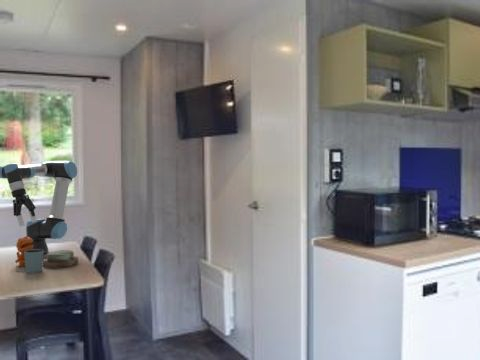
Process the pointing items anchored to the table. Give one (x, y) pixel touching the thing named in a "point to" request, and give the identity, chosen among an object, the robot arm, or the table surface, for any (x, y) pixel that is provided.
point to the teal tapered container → (33, 260)
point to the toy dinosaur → (23, 249)
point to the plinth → (60, 264)
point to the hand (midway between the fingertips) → (28, 224)
